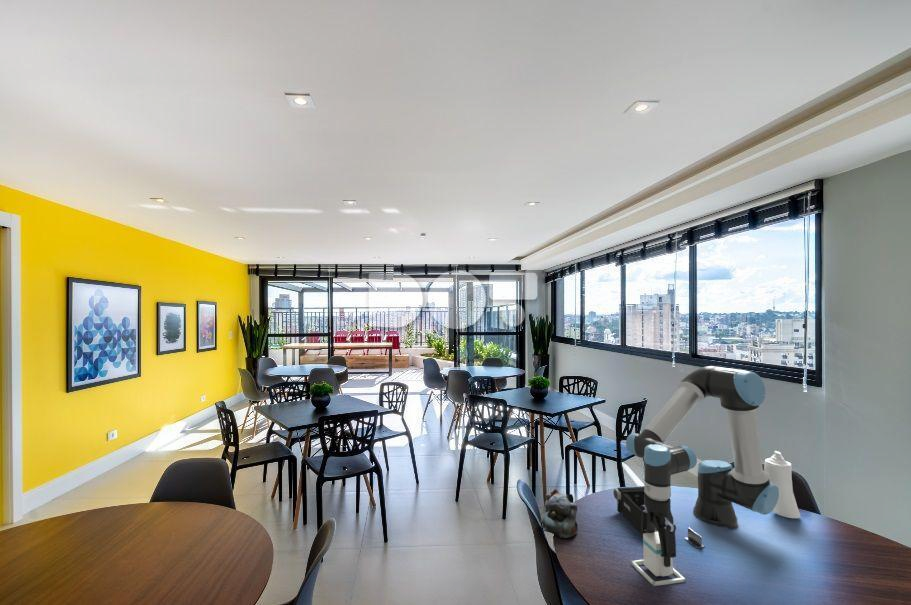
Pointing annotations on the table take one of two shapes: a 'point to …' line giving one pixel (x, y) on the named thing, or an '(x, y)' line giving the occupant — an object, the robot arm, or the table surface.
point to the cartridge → (653, 553)
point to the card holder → (694, 539)
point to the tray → (677, 580)
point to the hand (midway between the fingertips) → (657, 567)
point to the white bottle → (782, 485)
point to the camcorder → (630, 504)
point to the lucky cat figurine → (560, 515)
